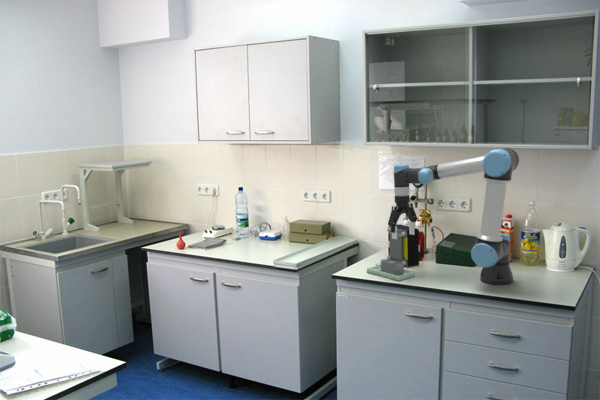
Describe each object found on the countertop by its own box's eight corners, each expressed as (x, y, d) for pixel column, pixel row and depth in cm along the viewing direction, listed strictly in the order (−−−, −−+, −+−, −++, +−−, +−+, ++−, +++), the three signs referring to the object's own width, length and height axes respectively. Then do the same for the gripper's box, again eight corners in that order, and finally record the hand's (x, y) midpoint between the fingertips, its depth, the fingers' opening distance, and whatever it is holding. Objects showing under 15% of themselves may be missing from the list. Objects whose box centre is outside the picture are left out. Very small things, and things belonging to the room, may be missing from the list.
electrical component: (386, 260, 316) (385, 225, 313) (401, 258, 320) (400, 223, 317) (404, 267, 300) (404, 231, 297) (420, 265, 304) (419, 228, 302)
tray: (415, 276, 283) (415, 271, 283) (399, 281, 276) (399, 276, 276) (382, 268, 300) (382, 264, 300) (366, 272, 293) (366, 268, 293)
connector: (405, 275, 283) (405, 263, 282) (399, 277, 280) (399, 265, 279) (381, 268, 296) (380, 257, 296) (374, 270, 293) (374, 259, 293)
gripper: (411, 191, 292) (413, 231, 295) (379, 197, 277) (381, 239, 279) (423, 192, 287) (424, 233, 289) (391, 198, 271) (392, 241, 274)
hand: (403, 236), depth 284 cm, fingers open, 13 cm apart
